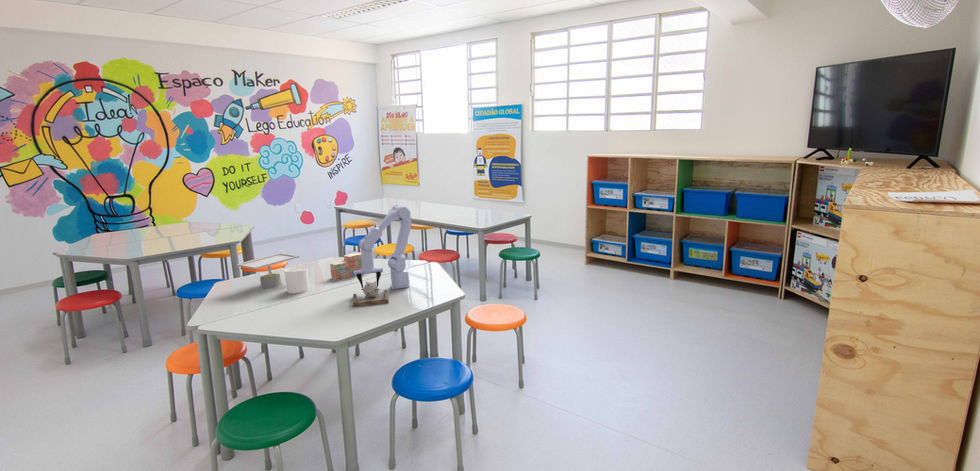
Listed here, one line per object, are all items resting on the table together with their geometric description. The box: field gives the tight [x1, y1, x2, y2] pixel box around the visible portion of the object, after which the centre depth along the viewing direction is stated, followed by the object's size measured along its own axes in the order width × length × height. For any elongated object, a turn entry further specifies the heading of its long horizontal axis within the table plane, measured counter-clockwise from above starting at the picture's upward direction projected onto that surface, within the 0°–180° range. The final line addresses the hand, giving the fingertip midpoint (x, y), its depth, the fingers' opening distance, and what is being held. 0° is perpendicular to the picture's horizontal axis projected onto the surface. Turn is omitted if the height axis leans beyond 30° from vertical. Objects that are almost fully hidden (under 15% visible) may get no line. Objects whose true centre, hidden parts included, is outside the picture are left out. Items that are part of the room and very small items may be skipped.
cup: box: [283, 265, 311, 295], centre depth 270 cm, size 12×12×12 cm
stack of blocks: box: [329, 251, 363, 281], centre depth 295 cm, size 21×6×12 cm, turn 134°
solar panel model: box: [236, 252, 300, 289], centre depth 280 cm, size 28×17×15 cm, turn 148°
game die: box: [361, 281, 381, 299], centre depth 255 cm, size 9×8×10 cm
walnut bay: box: [352, 289, 390, 308], centre depth 250 cm, size 17×14×2 cm
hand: (370, 286), depth 261 cm, fingers open, 7 cm apart
